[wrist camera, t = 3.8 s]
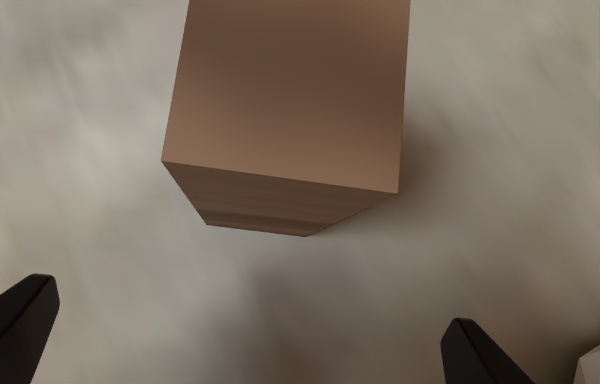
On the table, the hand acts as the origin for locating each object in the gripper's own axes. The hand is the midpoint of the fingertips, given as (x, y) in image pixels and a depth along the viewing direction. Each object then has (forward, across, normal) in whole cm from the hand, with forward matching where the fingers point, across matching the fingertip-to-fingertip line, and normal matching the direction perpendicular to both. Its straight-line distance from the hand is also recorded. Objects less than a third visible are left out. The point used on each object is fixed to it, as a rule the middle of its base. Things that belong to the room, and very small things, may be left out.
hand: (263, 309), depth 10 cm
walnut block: (+12, 0, +5) cm, 13 cm away
